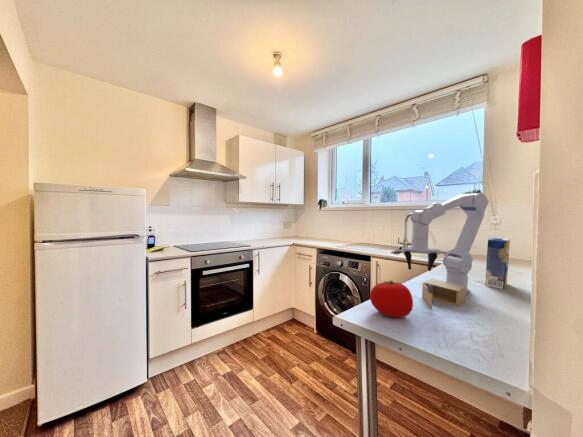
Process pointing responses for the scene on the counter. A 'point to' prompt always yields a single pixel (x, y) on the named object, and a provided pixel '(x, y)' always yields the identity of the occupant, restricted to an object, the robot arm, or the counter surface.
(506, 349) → the counter surface
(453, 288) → the carton
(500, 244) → the beverage box
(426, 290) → the carton flap
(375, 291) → the tomato
